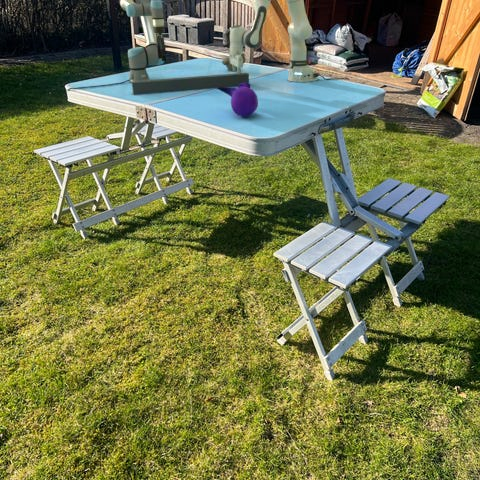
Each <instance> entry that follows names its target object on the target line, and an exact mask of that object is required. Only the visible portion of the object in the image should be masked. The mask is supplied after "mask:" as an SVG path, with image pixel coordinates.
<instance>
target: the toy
mask: <svg viewBox="0 0 480 480" xmlns="http://www.w3.org/2000/svg"><path fill="white" fill-rule="evenodd" d="M216 89H217V90H219V91H221V92H222V93H225V94H226V95H228V96H230V97H231V98H230V106H231V110H232V111H233V113H234V114H236V116H239V117H243V118H244V117H245V118H246V117H251V116H252V115H253V114H254V113H255V112H256V111H257V109H258V107H259V99H258V95H257V93H256V92H255V90H253V89H252V88H251V84H250V82H249V83H248V82H244V83H242V84H239V85H238V86H237V88H236V87H218V88H216Z"/></svg>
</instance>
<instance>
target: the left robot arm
mask: <svg viewBox="0 0 480 480" xmlns="http://www.w3.org/2000/svg"><path fill="white" fill-rule="evenodd" d="M119 5H120V7H121V9H122V10H123V11H125V12H126V15H127V17H129V18H135V17H140V22H141V26H142V31H143V35H144V39H145V44H146V45H145V46H144V47H143V46H137V47H132V48H130V49H127V58H128V64H129V65H128V66H129V76H128V79H127V80H125V81H121V82H115V83H108V84H100V85H99V84H98V85H89V86H80V87H69V88H68V89H67V92H69V91H70V90H78V89H87V88H99V87H107V86H115V85H120V84H125V83H127V82H129V83H132V82H131V81H143V80H151V79H150V76H149V74H148V71H147V66H159V65H163V64H164V63H165V62H166V61H167V55H166V50H167V49H166V43H165V38H164V37H165V36H164V34H163V33H165V32H166V30H165V29H166V28H165V20H164V18H165V17H164V6H163V1H162V0H119ZM71 131H72V135H74V133H75V131H74V130H73V129H72V130H71Z"/></svg>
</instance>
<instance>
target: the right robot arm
mask: <svg viewBox="0 0 480 480" xmlns="http://www.w3.org/2000/svg"><path fill="white" fill-rule="evenodd" d="M271 1H272V0H253V1H252V8H253V11H254V15H255V16H254V20H253V24H252V27H251V29H247V28H245V27H243V26H242V25H241V24H236V25H233V26H231V27H230V29H229V49H228V54H229V56H228V57H230V64H232V67H233V72H235V73H237V74H240V73H241V68H243V67H244V64H243V57H242V56H241V55H242V54H243V53H244V52H243V51H244V49H243V48H244V47H243V46H245V47H248V48H250V49H255V48H257V47H259V45H260V43H261V33H262V29H263V26H264V23H265V20H266V17H267V13H268V10H269V7H270V5H271ZM286 5H287V10H288V15H289V17H290V19H291V21H292V22H290V23H289V24H288V26H287V33H288V36H289V43H290V60H289V74H288V78H287V81H289V82H295V83H308V82H317V81H319V77H322V79H323V80H325V81H330V80H336V81H337V80H347V81H350V79H349V78H348V77H339V78H338V77H337V78H335V77H333V78H331V77H330V78H325V76H323V75H321V74H319V73H320V72H316V71H315V69H313V68H312V66H310V65H309V64H311V62H312V61H311V60H310V59H309V60H308V59H307V51H308V49H307V46H306V41H305V40H308V39H310V38H311V37H312V34H313V28H312V26H311V25H310V21H309V19H308V15H307V13H306V8H305V1H304V0H286ZM235 66H236V67H237V70H236V67H235Z"/></svg>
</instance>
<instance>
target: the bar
mask: <svg viewBox="0 0 480 480" xmlns="http://www.w3.org/2000/svg"><path fill="white" fill-rule="evenodd" d="M244 82H248V83H249V84H250V73H248V72H240V74H237V72H235V73H223V74H210V75H197V76H185V77H184V76H182V77H170V78H157V79H150V80H143V81H131V82H130V83H131V88H132V89H131V90H132V94H133V95H134V96H135V95H137V96H138V95H147V94H148V95H149V94H161V93H170V92H183V91H195V90H207V89H217V88H218V87H230V88H233V87H238V85H239V84H242V83H244Z"/></svg>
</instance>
